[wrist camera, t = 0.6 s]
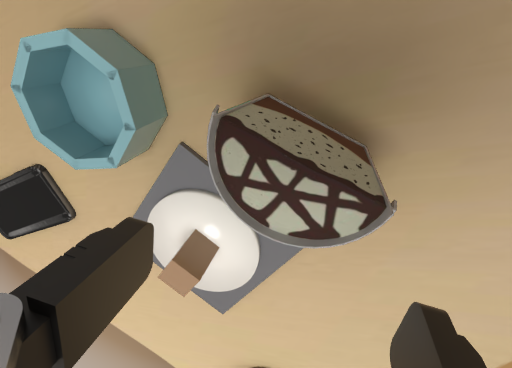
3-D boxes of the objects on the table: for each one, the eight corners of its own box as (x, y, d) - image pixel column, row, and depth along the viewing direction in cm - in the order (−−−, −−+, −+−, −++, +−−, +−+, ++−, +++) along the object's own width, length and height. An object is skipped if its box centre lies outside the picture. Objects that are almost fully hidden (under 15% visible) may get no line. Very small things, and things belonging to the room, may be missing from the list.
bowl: (81, 4, 26) (29, -3, 22) (183, 87, 27) (152, 98, 22) (51, 103, 31) (4, 114, 27) (136, 170, 32) (104, 191, 28)
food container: (226, 145, 28) (174, 195, 20) (252, 85, 25) (203, 112, 16) (341, 208, 28) (340, 286, 19) (382, 154, 25) (402, 219, 16)
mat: (182, 141, 29) (179, 143, 29) (306, 242, 31) (306, 245, 30) (123, 234, 37) (120, 237, 37) (224, 310, 39) (222, 314, 38)
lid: (184, 164, 30) (150, 192, 24) (285, 244, 31) (273, 287, 25) (135, 237, 36) (99, 271, 31) (219, 301, 37) (199, 345, 32)
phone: (74, 219, 37) (6, 240, 43) (81, 214, 38) (13, 236, 44) (35, 163, 35) (-32, 193, 41) (44, 159, 36) (-23, 190, 42)
